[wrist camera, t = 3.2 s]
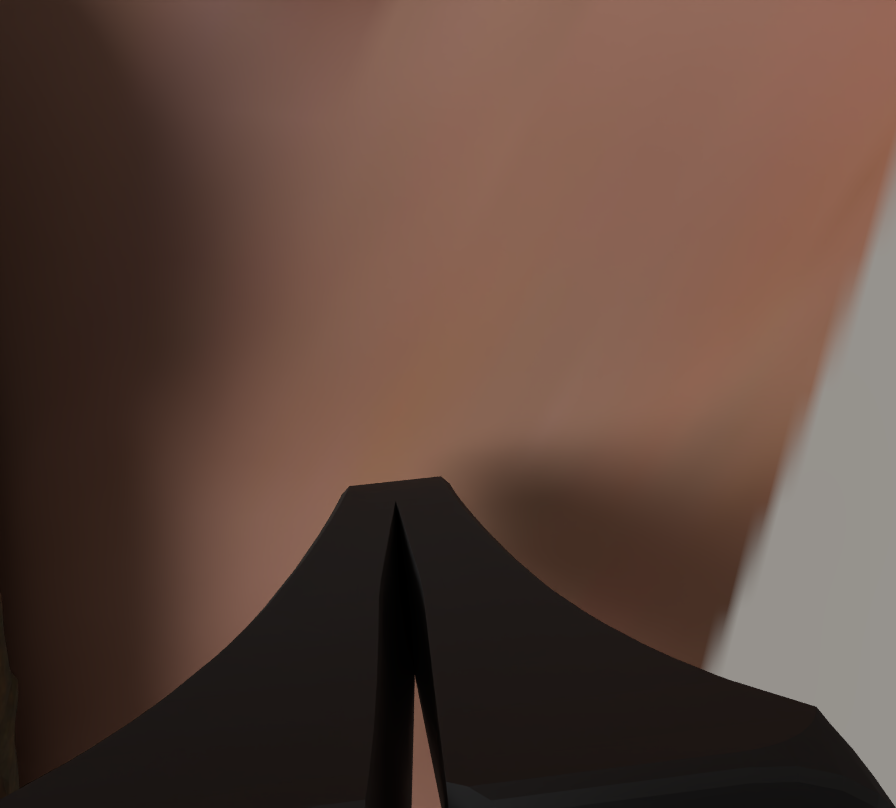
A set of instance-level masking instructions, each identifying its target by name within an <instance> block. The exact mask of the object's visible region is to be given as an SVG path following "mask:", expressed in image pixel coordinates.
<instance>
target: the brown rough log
mask: <svg viewBox="0 0 896 808" xmlns="http://www.w3.org/2000/svg"><path fill="white" fill-rule="evenodd" d="M17 704H18V679H17V678H16V677H15V676H14V675H13V673H12V672H11V671H10V667H9V660H8V654H7V648H6V641H5V635H4V625H3V608H2V595H1V592H0V799H2V798H4V797H6V796H7V795H9V794H11V793H13V792H15V791H16V790H18V789H20V788H19V775H18V764H17V753H16V748H15V743H14V741H15V720H16V712H17Z"/></svg>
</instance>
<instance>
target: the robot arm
mask: <svg viewBox="0 0 896 808" xmlns="http://www.w3.org/2000/svg"><path fill="white" fill-rule="evenodd" d="M415 678H416V683H417V688H418V693H419V698H420V703H421V708H422V713H423V718H424V723H425V728H426V733H427V738H428V743H429V748H430V753H431V758H432V763H433V768H434V773H435V778H436V783H437V788H438V793H439V798H440V803H441V808H895V806H894V804H893V803H892V802H891V800H890V799H889V797H888V796H887V795H886V793H885V792H884V790H883V789H882V787H881V786H880V785H879V783H878V782H877V780H876V779H875V777H874V776H873V775H872V773H871V772H870V771H869V770H868V768H867V767H866V766H865V764H864V763H863V762H862V761H861V759H860V758H859V757H858V755H857V754H856V753H855V751H854V750H853V749H852V748H851V747H850V746H849V745H848V744H847V742H846V741H845V740H844V739H843V738H842V737H841V736H840V734H839V733H838V732H837V731H836V730H835V729H834V728H833V727H832V725H831V724H830V723H829V722H828V721H827V719H826V718H825V717H824V716H823V715H822V713H821V712H820V711H819V709H818V708H817V707H815V706H812V705H808V704H805V703H802V702H798V701H796V700H792V699H789V698H786V697H783V696H779V695H776V694H773V693H770V692H767V691H763V690H760V689H757V688H754V687H750V686H747V685H744V684H741V683H738V682H734V681H731V680H728V679H725V678H723V677H720V676H717V675H715V674H712V673H710V672H707V671H705V670H702V669H700V668H697V667H695V666H692V665H690V664H687V663H685V662H682V661H680V660H677V659H675V658H672V657H670V656H668V655H666V654H664V653H662V652H659V651H657V650H655V649H653V648H651V647H649V646H646V645H644V644H642V643H640V642H638V641H636V640H635V639H633V638H631V637H629V636H627V635H625V634H623V633H621V632H620V631H618V630H616V629H614V628H612V627H610V626H608V625H606V624H604V623H603V622H601V621H599V620H598V619H596V618H594V617H593V616H591V615H589V614H588V613H586V612H584V611H583V610H581V609H580V608H578V607H577V606H575V605H574V604H572V603H571V602H569V601H568V600H566V599H565V598H563V597H562V596H560V595H559V594H558V593H556V592H555V591H553V590H552V589H550V588H549V587H548V586H547V585H545V584H544V583H543V582H542V581H540V580H539V579H538V578H537V577H536V576H534V575H533V574H532V573H531V572H530V571H529V570H528V569H526V568H525V567H524V566H523V565H522V564H521V563H519V562H518V561H517V560H516V559H515V558H514V557H513V556H512V555H511V554H510V553H509V552H508V551H507V550H506V549H505V548H504V547H503V546H502V545H501V544H500V543H499V542H498V541H497V540H496V539H495V538H494V537H493V536H492V535H491V534H490V533H489V532H488V531H487V530H486V529H485V528H484V527H483V526H482V525H481V524H480V522H479V521H478V520H477V519H476V518H475V517H474V516H473V514H472V513H471V512H470V511H469V510H468V508H467V507H466V506H465V505H464V504H463V502H462V501H461V500H460V498H459V497H458V496H457V494H456V493H455V491H454V490H453V488H452V487H451V485H450V484H449V483H448V482H447V481H446V480H445V479H443V478H442V477H441V476H440V477H431V478H422V479H412V480H403V481H394V482H384V483H375V484H366V485H356V486H349V487H348V488H347V489H346V491H345V492H344V493H343V494H342V495H341V497H340V499H339V501H338V503H337V505H336V507H335V509H334V510H333V512H332V514H331V516H330V517H329V519H328V521H327V522H326V524H325V526H324V527H323V529H322V530H321V532H320V534H319V535H318V537H317V538H316V540H315V541H314V543H313V544H312V546H311V547H310V548H309V550H308V551H307V553H306V554H305V556H304V557H303V559H302V560H301V562H300V563H299V565H298V566H297V567H296V569H295V570H294V571H293V573H292V574H291V575H290V576H289V578H288V579H287V580H286V581H285V583H284V584H283V585H282V586H281V588H280V589H279V590H278V591H277V593H276V594H275V595H274V596H273V598H272V599H271V600H270V601H269V603H268V604H267V605H266V606H265V607H264V609H263V610H262V611H261V612H260V613H259V614H258V615H257V616H256V617H255V619H254V620H253V621H252V622H251V623H250V624H249V625H248V626H247V627H246V628H245V629H244V630H243V631H242V632H241V633H240V634H239V635H238V636H237V637H236V638H235V639H234V640H233V641H232V642H231V643H230V644H229V645H228V646H227V647H226V648H225V649H224V650H222V651H221V652H220V653H219V654H218V655H217V656H216V657H215V658H213V659H212V660H211V661H210V662H208V663H207V664H206V665H205V666H204V667H202V668H201V669H200V670H199V671H197V672H196V673H195V674H194V675H192V676H191V677H190V678H189V679H188V680H186V681H185V682H184V683H183V684H181V685H180V686H179V687H178V688H177V689H175V690H174V691H173V692H172V693H170V694H169V695H168V696H167V697H165V698H164V699H163V700H161V701H160V702H159V703H157V704H156V705H155V706H153V707H152V708H150V709H149V710H147V711H146V712H145V713H143V714H142V715H140V716H139V717H137V718H136V719H135V720H133V721H132V722H130V723H129V724H128V725H126V726H124V727H123V728H121V729H120V730H118V731H117V732H115V733H114V734H112V735H111V736H109V737H107V738H106V739H104V740H103V741H101V742H100V743H98V744H97V745H95V746H94V747H92V748H90V749H89V750H87V751H85V752H84V753H82V754H80V755H79V756H77V757H76V758H74V759H72V760H71V761H69V762H67V763H65V764H63V765H62V766H60V767H58V768H56V769H54V770H53V771H51V772H49V773H47V774H45V775H44V776H42V777H40V778H38V779H36V780H34V781H33V782H31V783H29V784H27V785H25V786H24V787H22V788H20V789H18V790H16V791H15V792H13V793H11V794H9V795H7V796H6V797H4V798H2V799H0V808H411V805H412V766H413V728H414V684H415Z"/></svg>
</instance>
